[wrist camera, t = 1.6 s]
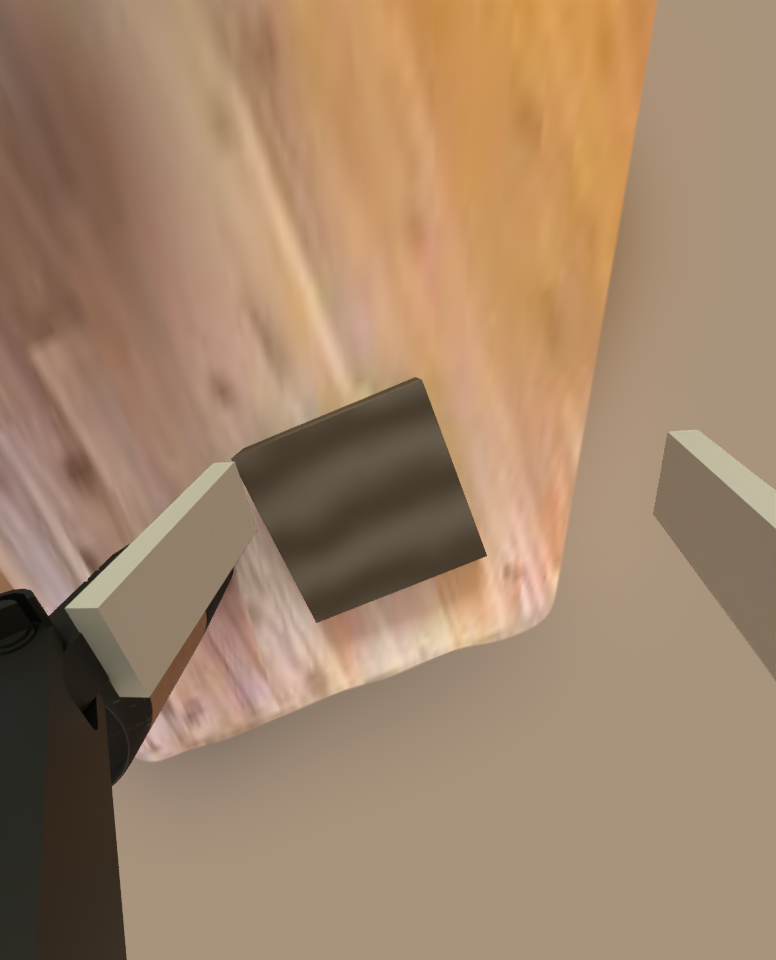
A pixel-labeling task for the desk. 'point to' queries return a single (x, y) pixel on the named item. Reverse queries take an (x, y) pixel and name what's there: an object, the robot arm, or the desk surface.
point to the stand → (362, 500)
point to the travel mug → (147, 700)
